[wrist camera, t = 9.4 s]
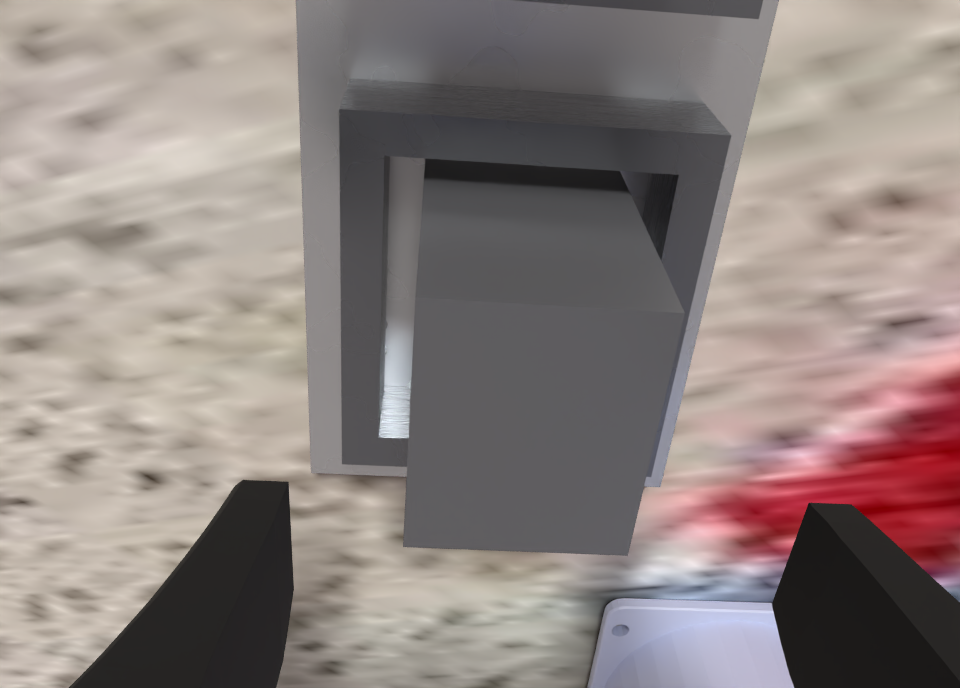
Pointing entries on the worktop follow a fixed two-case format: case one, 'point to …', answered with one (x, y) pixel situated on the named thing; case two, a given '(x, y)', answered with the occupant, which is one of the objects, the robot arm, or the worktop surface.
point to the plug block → (534, 360)
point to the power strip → (499, 139)
